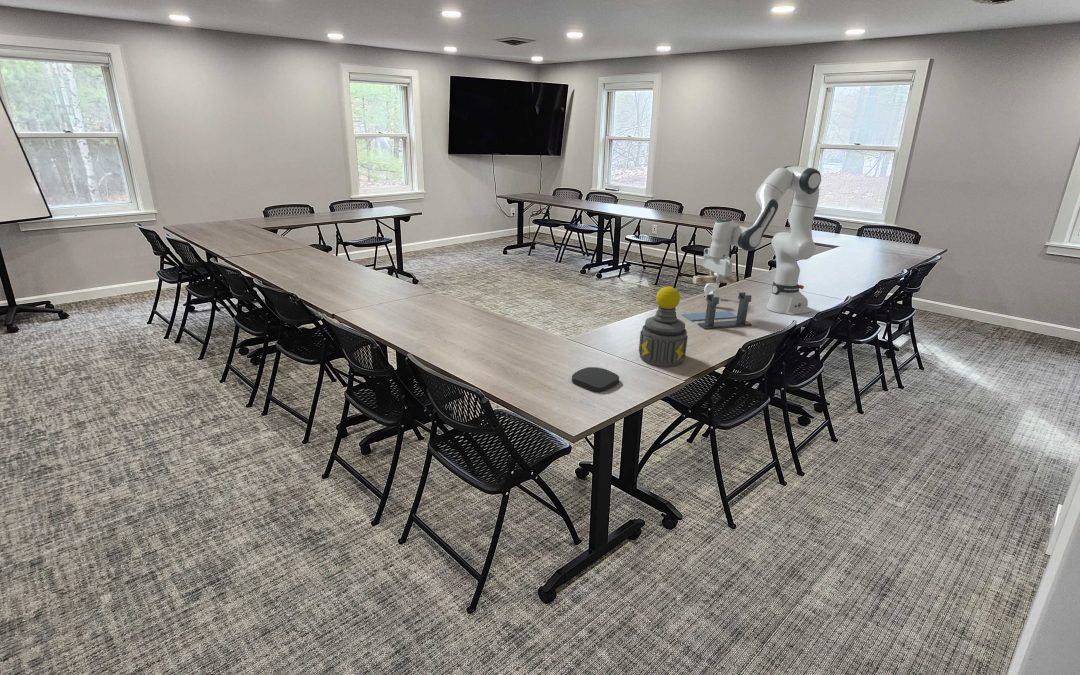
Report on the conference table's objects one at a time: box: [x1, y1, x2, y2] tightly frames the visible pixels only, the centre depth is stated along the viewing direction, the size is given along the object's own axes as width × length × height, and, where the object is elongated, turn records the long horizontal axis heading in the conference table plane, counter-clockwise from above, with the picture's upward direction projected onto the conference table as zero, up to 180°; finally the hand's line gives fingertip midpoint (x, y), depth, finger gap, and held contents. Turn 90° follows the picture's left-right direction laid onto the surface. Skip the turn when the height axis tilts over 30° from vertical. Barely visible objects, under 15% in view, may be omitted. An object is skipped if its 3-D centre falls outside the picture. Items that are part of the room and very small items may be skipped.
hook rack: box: [697, 291, 753, 330], centre depth 265 cm, size 25×6×15 cm, turn 105°
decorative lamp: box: [638, 286, 689, 368], centre depth 223 cm, size 19×19×30 cm
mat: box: [681, 310, 737, 322], centre depth 279 cm, size 26×9×1 cm, turn 105°
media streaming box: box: [571, 366, 620, 393], centre depth 206 cm, size 15×15×3 cm
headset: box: [701, 273, 722, 303], centre depth 298 cm, size 20×7×18 cm, turn 172°
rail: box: [692, 274, 738, 285], centre depth 272 cm, size 22×3×3 cm, turn 105°
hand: (714, 281), depth 273 cm, fingers closed on rail, 3 cm apart
